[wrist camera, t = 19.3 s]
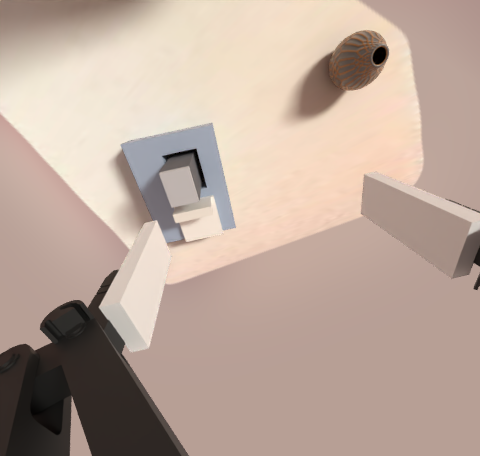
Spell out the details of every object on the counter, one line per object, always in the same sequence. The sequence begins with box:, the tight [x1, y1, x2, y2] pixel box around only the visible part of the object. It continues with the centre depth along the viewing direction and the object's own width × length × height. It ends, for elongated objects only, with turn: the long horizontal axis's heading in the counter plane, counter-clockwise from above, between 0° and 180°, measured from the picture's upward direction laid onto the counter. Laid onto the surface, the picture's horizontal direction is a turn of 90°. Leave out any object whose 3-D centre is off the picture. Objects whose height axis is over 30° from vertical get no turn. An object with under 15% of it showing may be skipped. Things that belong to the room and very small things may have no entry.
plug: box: [159, 150, 202, 208], centre depth 35 cm, size 5×4×12 cm
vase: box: [329, 30, 389, 90], centre depth 32 cm, size 7×7×9 cm
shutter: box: [173, 195, 223, 242], centre depth 39 cm, size 8×7×5 cm
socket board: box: [121, 123, 236, 243], centre depth 40 cm, size 18×14×4 cm
